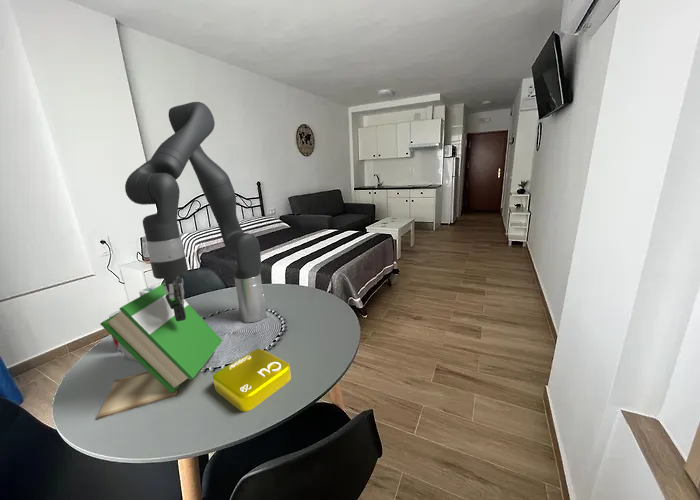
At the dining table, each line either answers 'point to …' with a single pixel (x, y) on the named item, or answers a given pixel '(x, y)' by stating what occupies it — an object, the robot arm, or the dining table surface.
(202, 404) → the dining table surface
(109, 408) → the brown flat panel
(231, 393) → the element tile
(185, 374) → the hardback book
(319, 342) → the dining table surface
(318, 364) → the dining table surface
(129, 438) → the dining table surface
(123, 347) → the donut
